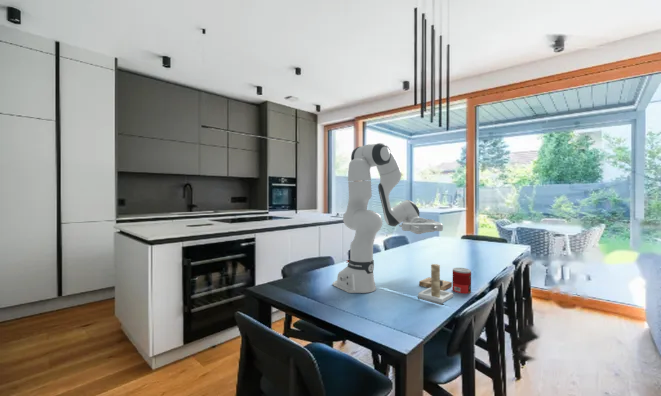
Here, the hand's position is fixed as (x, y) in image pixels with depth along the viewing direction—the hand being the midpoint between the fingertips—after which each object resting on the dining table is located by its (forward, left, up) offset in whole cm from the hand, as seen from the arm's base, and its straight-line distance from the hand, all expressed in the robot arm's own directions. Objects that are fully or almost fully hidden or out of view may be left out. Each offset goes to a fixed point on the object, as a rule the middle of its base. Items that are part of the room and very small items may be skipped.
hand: (426, 228), depth 144 cm
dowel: (+9, -8, -29) cm, 31 cm away
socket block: (+2, +6, -30) cm, 30 cm away
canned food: (+14, +8, -30) cm, 34 cm away
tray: (+9, -8, -30) cm, 32 cm away
